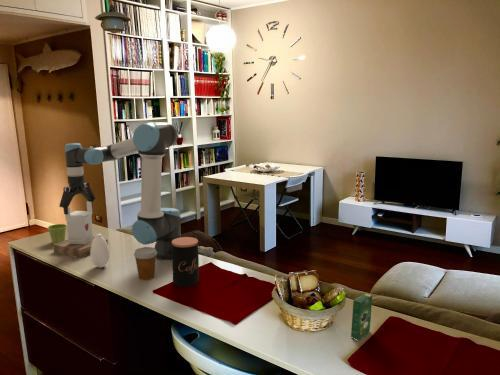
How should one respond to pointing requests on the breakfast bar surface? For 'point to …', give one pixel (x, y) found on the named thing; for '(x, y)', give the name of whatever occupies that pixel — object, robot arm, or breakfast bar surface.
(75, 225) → the supplement box
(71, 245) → the walnut riser
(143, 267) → the disposable coffee cup
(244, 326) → the breakfast bar surface
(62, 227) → the plant pot
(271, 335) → the breakfast bar surface
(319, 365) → the breakfast bar surface
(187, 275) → the coffee jar
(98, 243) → the white teardrop-shaped piece
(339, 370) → the breakfast bar surface
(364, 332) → the coffee box
